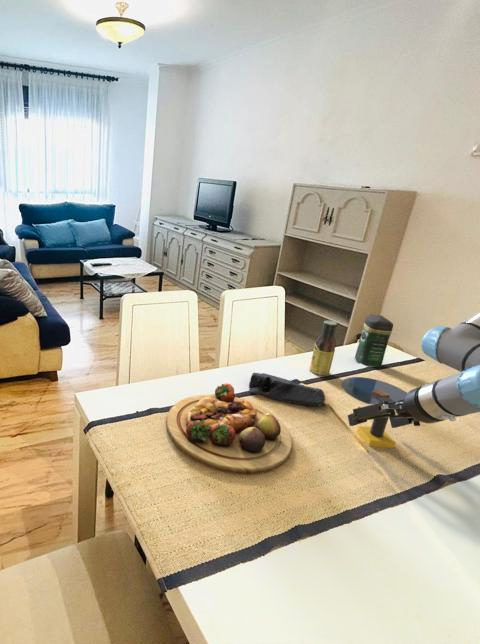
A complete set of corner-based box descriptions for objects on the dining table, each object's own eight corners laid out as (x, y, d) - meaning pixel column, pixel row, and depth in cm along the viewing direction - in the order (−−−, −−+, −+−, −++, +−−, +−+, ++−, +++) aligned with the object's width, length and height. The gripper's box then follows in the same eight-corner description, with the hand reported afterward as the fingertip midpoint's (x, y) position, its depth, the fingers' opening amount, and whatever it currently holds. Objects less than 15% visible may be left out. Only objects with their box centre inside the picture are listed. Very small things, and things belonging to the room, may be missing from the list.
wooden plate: (185, 390, 121) (188, 366, 118) (294, 419, 108) (300, 393, 106) (147, 449, 94) (149, 420, 91) (286, 496, 81) (294, 465, 78)
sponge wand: (377, 438, 101) (392, 394, 97) (391, 453, 96) (407, 407, 91) (354, 437, 101) (367, 392, 97) (366, 452, 96) (381, 405, 91)
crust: (379, 392, 122) (380, 389, 121) (388, 397, 119) (389, 394, 119) (371, 393, 121) (372, 390, 121) (380, 398, 118) (381, 396, 118)
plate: (389, 382, 131) (390, 378, 131) (430, 415, 112) (431, 412, 112) (329, 378, 132) (330, 375, 132) (359, 411, 113) (360, 407, 113)
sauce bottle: (312, 369, 138) (324, 317, 131) (330, 375, 134) (344, 322, 127) (305, 374, 134) (317, 321, 127) (324, 381, 130) (337, 326, 123)
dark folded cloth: (322, 415, 110) (325, 401, 109) (244, 393, 120) (246, 380, 119) (325, 392, 123) (328, 379, 121) (254, 374, 133) (256, 361, 131)
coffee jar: (383, 370, 139) (398, 322, 133) (359, 367, 141) (373, 320, 134) (374, 359, 148) (387, 314, 141) (351, 356, 150) (363, 311, 143)
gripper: (384, 418, 78) (329, 434, 98) (497, 423, 78) (419, 438, 98) (375, 382, 81) (324, 405, 101) (484, 386, 81) (411, 409, 101)
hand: (370, 421), depth 100 cm, fingers open, 10 cm apart
